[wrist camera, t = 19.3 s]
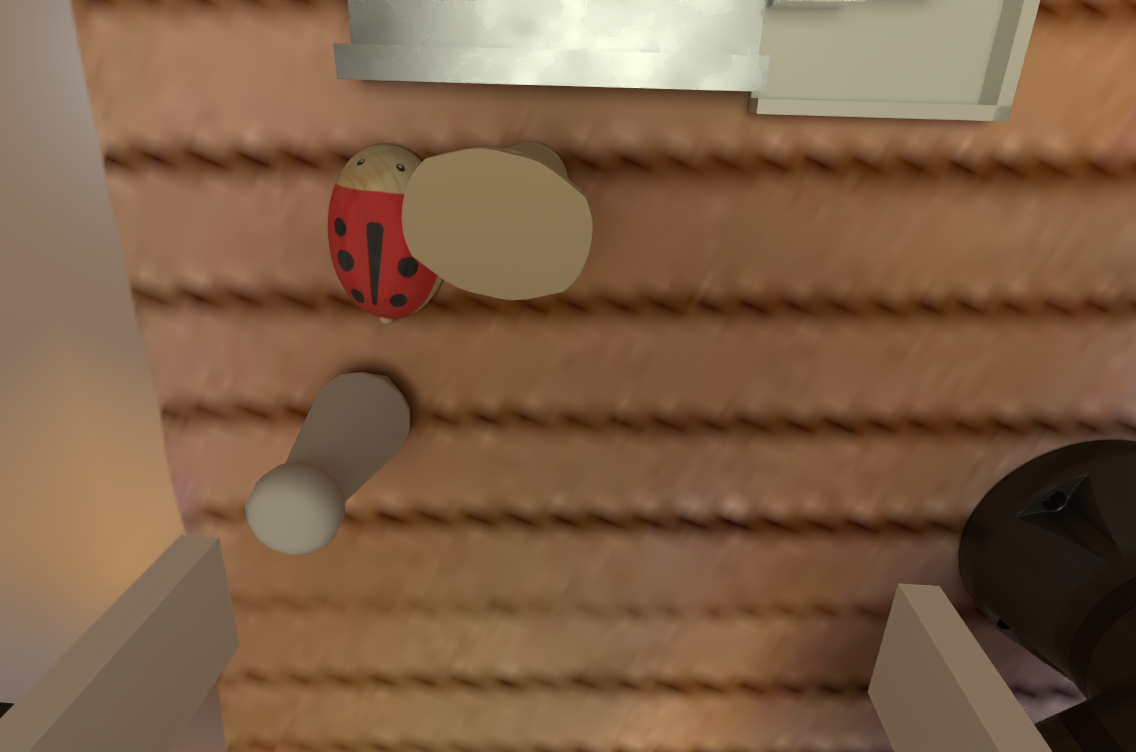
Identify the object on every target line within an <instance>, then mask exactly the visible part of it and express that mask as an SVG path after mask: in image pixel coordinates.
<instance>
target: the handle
mask: <svg viewBox="0 0 1136 752" xmlns="http://www.w3.org/2000/svg"><path fill="white" fill-rule="evenodd" d="M402 227H403V235H404V238H405V241H406V244H407V247H408V249H409V251H410V253H411V255H412V256H413V257H414V258H415V259H417V260H418V261H419V262H421V263H422V264H423V265H425V266H426V267H427V268H428V269H430V270H431V271H432V272H434V273H435V274H437V275H438V276H439V277H441V278H442V279H443V280H445V281H447V282H448V283H450V284H452V285H454V286H455V287H457V288H460V289H463V290H466V291H469V292H473V293H477V294H482V295H486V296H490V297H495V298H499V299H507V300H522V299H530V298H535V297H540V296H545V295H550V294H554V293H559V292H564V291H565V290H566V289H567V288H568V287H569V286H570V285H572V283H573V282H574V281H575V280H576V279H577V278H578V276H579V275H580V273H581V271H582V269H583V267H584V265H585V263H586V260H587V257H588V254H589V251H590V247H591V241H592V234H593V217H592V212H591V207H590V203H589V201H588V198H587V195H586V193H585V192H583V191H582V190H581V189H580V188H579V187H578V186H577V185H575V184H574V183H573V182H572V181H571V180H569V179H568V176H567V172H566V169H565V166H564V164H563V162H562V160H561V159H560V158H559V156H558V155H557V154H556V153H555V152H554V151H552V150H551V149H550V148H548V147H547V146H546V145H544V144H542V143H533V142H523V143H517V144H513V145H510V146H508V147H506V148H502V147H497V146H489V145H484V146H476V147H470V148H465V149H460V150H455V151H451V152H447V153H443V154H439V155H435V156H431V157H429V158H426V159H425V160H424V161H423V162H422V163H421V164H420V165H419V166H418V167H417V169H416V170H415V172H414V173H413V174H412V176H411V178H410V180H409V183H408V185H407V188H406V190H405V195H404V200H403V205H402Z"/></svg>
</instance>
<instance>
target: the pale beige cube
mask: <svg viewBox="0 0 1136 752" xmlns="http://www.w3.org/2000/svg"><path fill="white" fill-rule="evenodd" d="M865 1H867V0H767V4H766V8H772V9H842V8H846V7H849V6H852V5H855V4H858V3H861V2H865Z"/></svg>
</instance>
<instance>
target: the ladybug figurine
mask: <svg viewBox="0 0 1136 752" xmlns="http://www.w3.org/2000/svg"><path fill="white" fill-rule="evenodd" d="M421 163H422V161H421V160H420V159H419V158H418V157H417V156H416V155H414V154H413V153H412V152H410V151H409V150H407V149H405V148H403V147H400V146H397V145H392V144H378V145H373V146H369V147H367V148H365V149H363V150H362V151H360V152H358V153H357V154H356V155H355V156H353V157H352V158H351V159H350V160H349V161H348V163H347V164H346V165H345V167H344V168H343V170H342V171H341V173H340V175H339V177H338V179H337V181H336V183H335V186H334V189H333V192H332V195H331V199H330V205H329V212H328V238H329V247H330V253H331V258H332V261H333V265H334V268H335V271H336V273H337V276H338V278H339V280H340V282H341V284H342V285H343V287H344V288H345V290H346V292H347V293H348V294H349V296H350V297H351V298H352V300H353V301H354V302H355V303H356V304H357V305H359V306H360V307H361V308H362V309H364V310H365V311H367V312H368V313H370V314H373V315H375V316H378V318H379V320H380V322H381V323H382V324H391V323H392V322H393V321H394V319H395V318H402V317H406V316H409V315H411V314H414V313H415V312H417V311H418V310H420V309H421V308H422V307H424V306H425V305H426V304H427V303H428V302H429V301H430V299H431V298H432V297H433V296H434V294H435V293H436V291H437V289H438V287H439V285H440V283H441V281H442V278H441V277H439V276H438V275H437V274H435V273H434V272H432V271H431V270H430V269H428V268H427V267H426V266H425V265H423V264H422V263H421V262H419V261H418V260H417V259H415V258H414V257H413V256H412V255H411V253H410V251H409V249H408V247H407V244H406V241H405V238H404V235H403V227H402V205H403V200H404V195H405V190H406V188H407V185H408V183H409V180H410V178H411V176H412V174H413V173H414V172H415V170H416V169H417V167H418V166H419V165H420V164H421Z"/></svg>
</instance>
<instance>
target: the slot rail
mask: <svg viewBox="0 0 1136 752" xmlns="http://www.w3.org/2000/svg"><path fill="white" fill-rule="evenodd" d="M765 1H766V0H348V10H349V21H350V32H351V43H352V44H334V52H335V62H336V72H337V79H351V80H385V81H419V82H453V83H487V84H521V85H555V86H589V87H623V88H657V89H691V90H725V91H759V92H766V86H767V78H768V71H769V63H770V56H761V55H759V49H760V41H761V33H762V25H763V17H764V9H765Z"/></svg>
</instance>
